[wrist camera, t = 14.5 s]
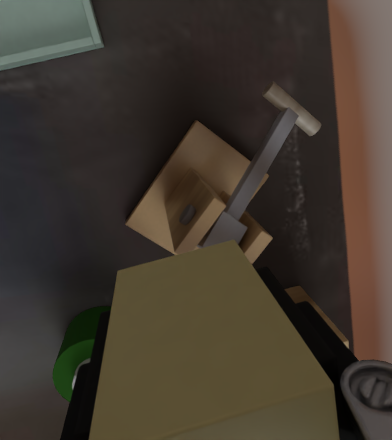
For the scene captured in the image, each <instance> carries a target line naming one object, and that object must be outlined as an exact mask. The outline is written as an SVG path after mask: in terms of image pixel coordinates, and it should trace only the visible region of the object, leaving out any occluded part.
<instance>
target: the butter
mask: <svg viewBox="0 0 392 440" xmlns="http://www.w3.org/2000/svg"><path fill="white" fill-rule="evenodd" d="M89 440H340V439H339V430H338V420H337V411H336V402H335V393H334V385H333V383H332V382H331V380H330V379H329V377H328V376H327V374H326V373H325V371H324V370H323V368H322V367H321V365H320V364H319V363H318V361H317V360H316V358H315V357H314V355H313V354H312V352H311V351H310V349H309V348H308V346H307V345H306V344H305V342H304V341H303V339H302V338H301V336H300V335H299V333H298V332H297V330H296V329H295V327H294V326H293V324H292V323H291V322H290V320H289V319H288V317H287V316H286V314H285V313H284V311H283V310H282V308H281V307H280V305H279V304H278V303H277V301H276V300H275V298H274V297H273V295H272V294H271V292H270V291H269V289H268V288H267V286H266V285H265V284H264V282H263V281H262V279H261V278H260V276H259V275H258V273H257V272H256V270H255V269H254V267H253V266H252V264H251V263H250V262H249V260H248V259H247V257H246V256H245V254H244V253H243V251H242V250H241V248H240V247H239V245H238V244H237V243H236V241H235V240H230V241H227V242H223V243H219V244H216V245H212V246H208V247H204V248H201V249H197V250H193V251H190V252H186V253H182V254H178V255H175V256H171V257H167V258H164V259H160V260H156V261H152V262H149V263H145V264H141V265H138V266H134V267H130V268H127V269H123V270H119V271H118V272H117V278H116V284H115V290H114V296H113V301H112V307H111V313H110V319H109V325H108V330H107V336H106V342H105V348H104V354H103V359H102V365H101V371H100V377H99V383H98V389H97V394H96V400H95V406H94V412H93V418H92V423H91V429H90V435H89Z"/></svg>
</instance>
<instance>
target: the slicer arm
mask: <svg viewBox="0 0 392 440" xmlns="http://www.w3.org/2000/svg"><path fill="white" fill-rule="evenodd" d="M262 96H264V97H265V98H266V99H267V100H268V101H269V102H271V103H272V104H273V105H274V106H275V107H276V108H278V109H279V110H280V113H279V115H278V117H277V118H276V120H275V122H274V123H273V125H272V127H271V129H270V130H269V132H268V134H267V135H266V137H265V139H264V140H263V142H262V144H261V146H260V147H259V149H258V151H257V152H256V154H255V156H254V157H253V159H252V161H251V163H250V164H249V166H248V168H247V169H246V171H245V173H244V174H243V176H242V178H241V180H240V181H239V183H238V185H237V186H236V188H235V190H234V191H233V193H232V195H231V197H230V198H229V200H228V202H227V203H226V207H225V209H224V210H223V211H222V213H221V214H220V215H219V217H218V218H217V219H216V221H215V222H214V223H213V225H212V226H211V227H210V229H209V230H208V231H207V233H206V234H205V235H204V237H203V238H202V239H201V241H200V242H199V243H198V245H197V247H199V248H200V249H201V248H204V247H208V246H212V245H216V244H219V243H223V242H227V241H230V240H235V241H236V243H237V244H239V242H240V240H241V239H242V237H243V235H244V233H245V232H246V230H247V228H248V227H246V226H245V225H243V224H242V223H241V222H239V219H240V217H241V215H242V214H243V212H244V210H245V209H246V207H247V205H248V203H249V202H250V200H251V198H252V196H253V195H254V193H255V191H256V190H257V188H258V186H259V184H260V183H261V181H262V179H263V177H264V176H265V174H266V172H267V170H268V169H269V167H270V165H271V164H272V162H273V160H274V158H275V157H276V155H277V153H278V151H279V150H280V148H281V146H282V144H283V143H284V141H285V139H286V138H287V136H288V134H289V132H290V131H291V129H292V127H293V125H294V124H296V125H297V126H299V127H300V128H301V129H302V130H303V131H304V132H306V133H307V134H308V135H309V136H312V135H314V134H315V133H316V132H317V131H318V130H319V129H320V127H321V123H320V122H319V121H318V120H317V119H315V118H314V117H313V116H312V115H311V114H310V113H309V112H308V111H306V110H305V109H304V108H303V107H302V106H301V105H300V104H299V103H297V102H296V101H295V100H294V99H293V98H292V97H291V96H289V95H288V94H287V93H286V92H285V91H284V90H283V89H282V88H280V87H279V86H278V85H277V84H276V83H275V82H273V81H272V82H271V83H270V84H268V86H267V87H266V88H265V89H264V91H263V93H262Z"/></svg>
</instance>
